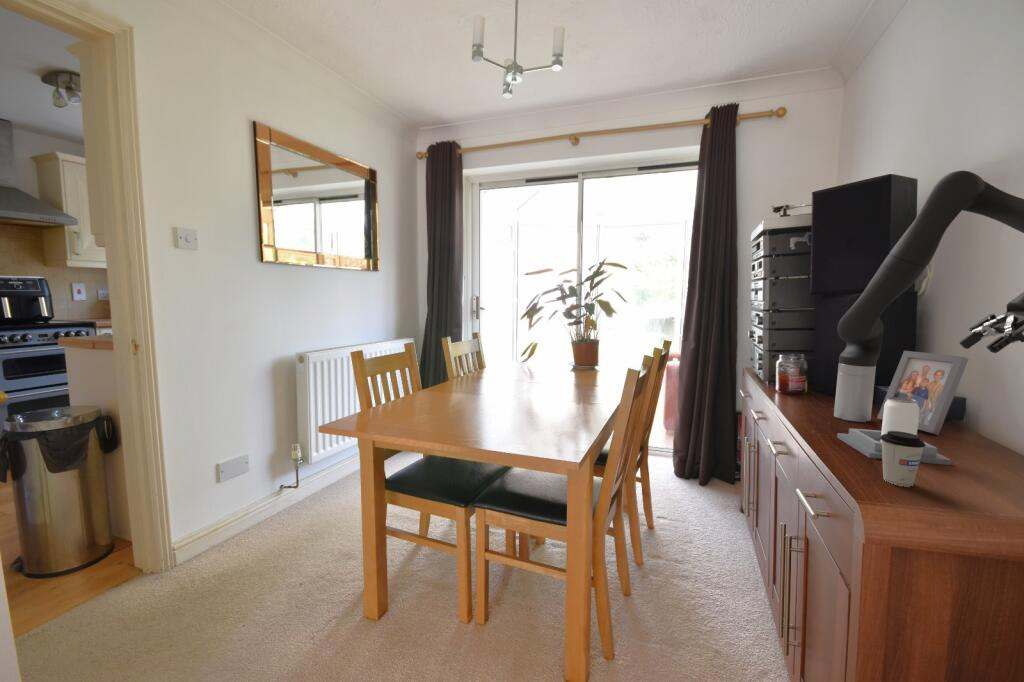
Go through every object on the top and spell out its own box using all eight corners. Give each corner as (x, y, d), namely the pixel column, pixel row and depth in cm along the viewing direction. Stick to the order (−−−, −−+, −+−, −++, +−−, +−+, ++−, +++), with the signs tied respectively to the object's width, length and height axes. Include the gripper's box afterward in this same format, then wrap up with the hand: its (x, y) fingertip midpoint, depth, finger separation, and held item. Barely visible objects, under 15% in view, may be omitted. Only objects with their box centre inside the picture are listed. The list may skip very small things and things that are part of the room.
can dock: (837, 437, 121) (838, 425, 120) (906, 443, 117) (907, 431, 117) (869, 457, 105) (870, 444, 105) (950, 465, 102) (952, 451, 101)
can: (921, 453, 105) (927, 403, 104) (890, 451, 107) (896, 402, 105) (903, 444, 112) (908, 397, 111) (874, 442, 113) (879, 396, 112)
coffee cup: (867, 475, 94) (871, 429, 93) (897, 475, 95) (902, 429, 94) (897, 489, 88) (903, 440, 87) (930, 489, 88) (936, 439, 87)
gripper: (1004, 289, 110) (943, 334, 114) (1059, 289, 96) (987, 339, 100) (1028, 312, 109) (965, 355, 113) (1087, 314, 96) (1013, 364, 100)
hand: (976, 348), depth 107 cm, fingers open, 8 cm apart
